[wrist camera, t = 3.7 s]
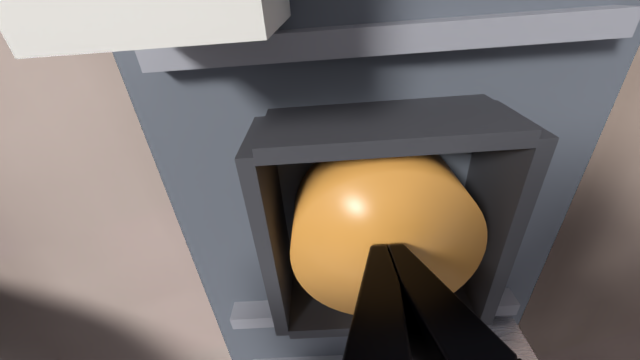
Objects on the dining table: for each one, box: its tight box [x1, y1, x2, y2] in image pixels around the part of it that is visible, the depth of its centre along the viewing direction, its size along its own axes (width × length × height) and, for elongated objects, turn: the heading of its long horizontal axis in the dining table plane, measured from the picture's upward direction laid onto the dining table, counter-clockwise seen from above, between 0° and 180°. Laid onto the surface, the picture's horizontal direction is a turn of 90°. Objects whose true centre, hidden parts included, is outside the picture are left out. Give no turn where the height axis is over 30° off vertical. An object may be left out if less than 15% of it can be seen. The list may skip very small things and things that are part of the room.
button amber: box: [290, 154, 487, 315], centre depth 9 cm, size 5×5×2 cm
